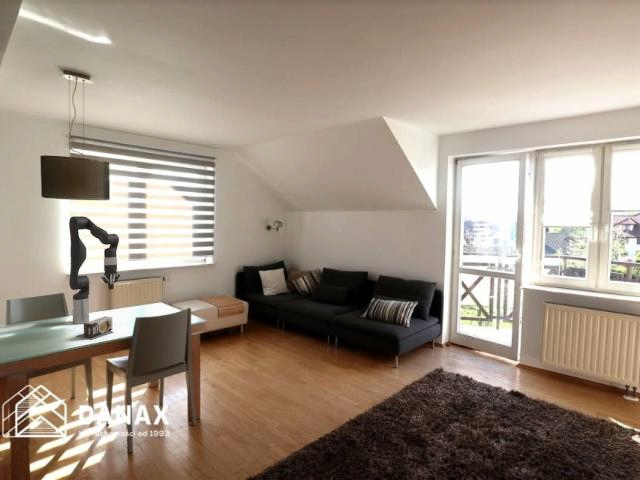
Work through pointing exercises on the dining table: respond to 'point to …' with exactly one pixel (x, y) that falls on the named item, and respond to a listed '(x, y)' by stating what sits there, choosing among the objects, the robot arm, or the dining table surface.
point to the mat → (96, 336)
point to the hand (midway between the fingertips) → (111, 289)
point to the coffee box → (97, 327)
